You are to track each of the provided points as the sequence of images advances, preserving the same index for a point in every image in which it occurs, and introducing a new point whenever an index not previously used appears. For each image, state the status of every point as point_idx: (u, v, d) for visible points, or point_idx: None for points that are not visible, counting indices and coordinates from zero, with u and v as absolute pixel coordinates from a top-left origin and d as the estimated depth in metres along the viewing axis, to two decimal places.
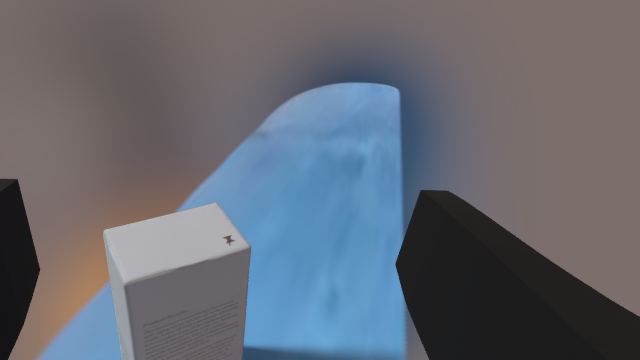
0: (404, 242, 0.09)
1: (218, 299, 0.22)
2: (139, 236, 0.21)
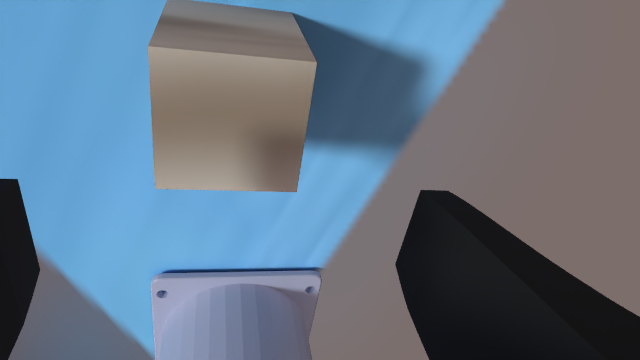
0: (404, 242, 0.09)
1: None
2: None
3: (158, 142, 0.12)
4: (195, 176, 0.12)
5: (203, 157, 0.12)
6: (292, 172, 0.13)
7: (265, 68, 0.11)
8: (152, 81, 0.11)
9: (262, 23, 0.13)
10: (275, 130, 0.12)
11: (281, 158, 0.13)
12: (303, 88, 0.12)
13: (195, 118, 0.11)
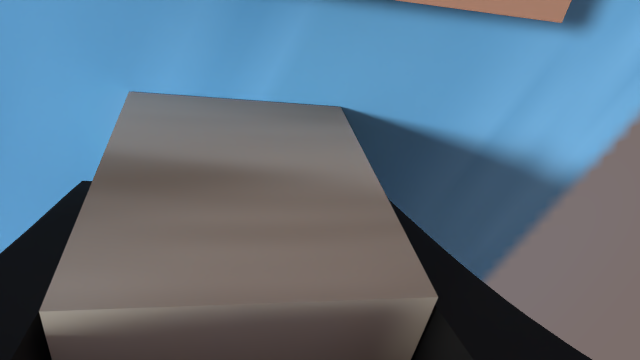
0: None
1: None
2: None
3: None
4: None
5: None
6: None
7: (323, 318, 0.05)
8: None
9: (299, 151, 0.07)
10: None
11: None
12: (401, 339, 0.05)
13: None
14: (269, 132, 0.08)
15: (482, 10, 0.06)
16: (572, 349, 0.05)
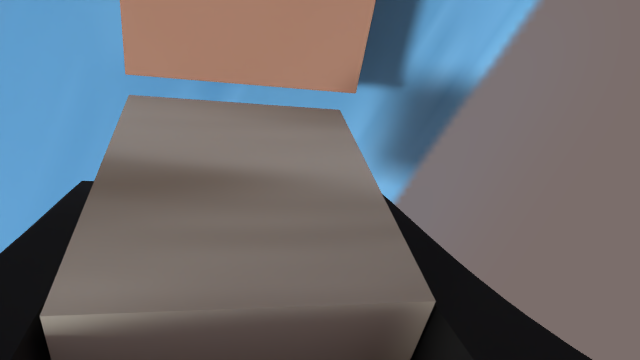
0: None
1: None
2: None
3: None
4: None
5: None
6: None
7: (321, 322, 0.05)
8: None
9: (298, 155, 0.07)
10: None
11: None
12: (399, 343, 0.05)
13: None
14: (268, 135, 0.08)
15: (316, 88, 0.14)
16: (572, 349, 0.05)
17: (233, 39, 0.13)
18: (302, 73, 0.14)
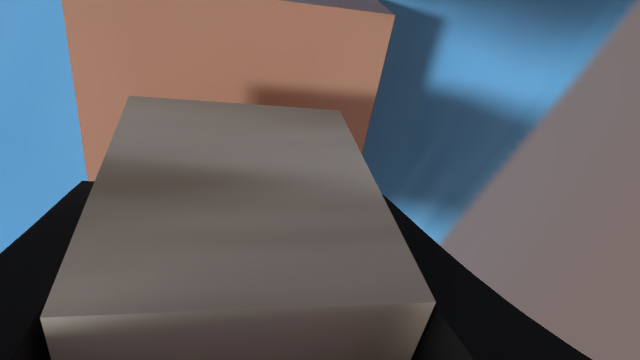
0: None
1: None
2: None
3: None
4: None
5: None
6: None
7: (322, 323, 0.05)
8: None
9: (298, 155, 0.07)
10: None
11: None
12: (399, 344, 0.05)
13: None
14: (269, 136, 0.08)
15: None
16: (572, 349, 0.05)
17: None
18: None
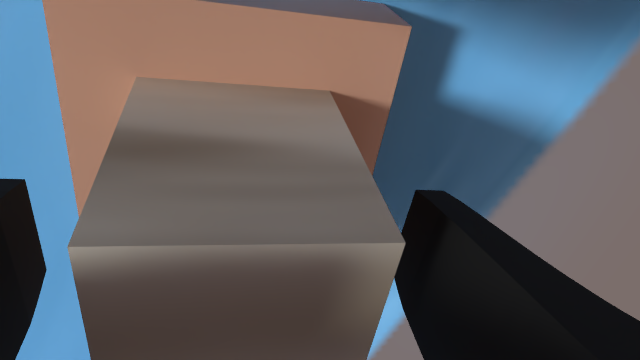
0: None
1: None
2: None
3: None
4: None
5: None
6: None
7: (306, 260, 0.06)
8: (83, 300, 0.05)
9: (289, 127, 0.08)
10: (320, 343, 0.07)
11: None
12: (375, 282, 0.06)
13: (174, 342, 0.06)
14: (263, 111, 0.08)
15: None
16: None
17: None
18: None
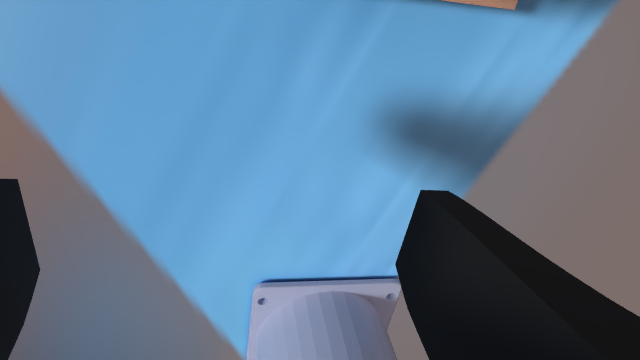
0: (404, 242, 0.09)
1: None
2: None
3: None
4: None
5: None
6: None
7: None
8: None
9: None
10: None
11: None
12: None
13: None
14: None
15: (478, 4, 0.15)
16: None
17: None
18: None
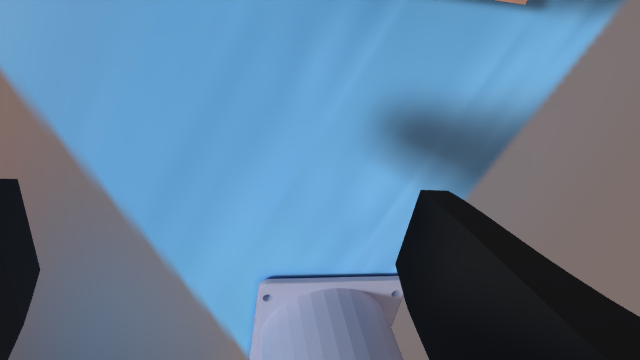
0: (404, 242, 0.09)
1: None
2: None
3: None
4: None
5: None
6: None
7: None
8: None
9: None
10: None
11: None
12: None
13: None
14: None
15: None
16: None
17: None
18: None
